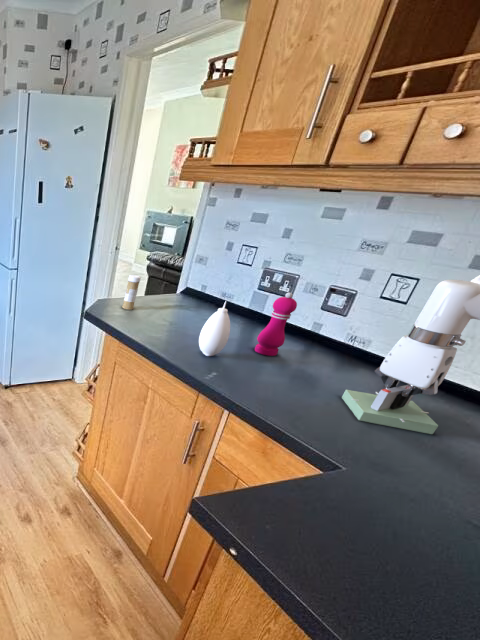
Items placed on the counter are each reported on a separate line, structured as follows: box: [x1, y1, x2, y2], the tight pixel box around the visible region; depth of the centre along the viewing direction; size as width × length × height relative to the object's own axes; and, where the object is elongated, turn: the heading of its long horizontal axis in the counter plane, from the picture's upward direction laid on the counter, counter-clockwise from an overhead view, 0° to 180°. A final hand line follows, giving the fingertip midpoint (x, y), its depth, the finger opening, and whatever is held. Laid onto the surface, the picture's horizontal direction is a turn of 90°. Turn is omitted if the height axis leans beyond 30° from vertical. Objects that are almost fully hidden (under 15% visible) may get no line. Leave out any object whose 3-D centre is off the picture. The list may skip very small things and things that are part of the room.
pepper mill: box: [254, 291, 298, 357], centre depth 131 cm, size 7×7×20 cm
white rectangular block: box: [370, 384, 415, 411], centre depth 101 cm, size 11×2×5 cm, turn 107°
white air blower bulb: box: [198, 300, 231, 357], centre depth 128 cm, size 8×8×18 cm
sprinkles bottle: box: [122, 274, 142, 310], centre depth 169 cm, size 5×5×14 cm
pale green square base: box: [341, 389, 439, 435], centre depth 103 cm, size 15×15×3 cm
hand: (389, 405), depth 102 cm, fingers closed on white rectangular block
